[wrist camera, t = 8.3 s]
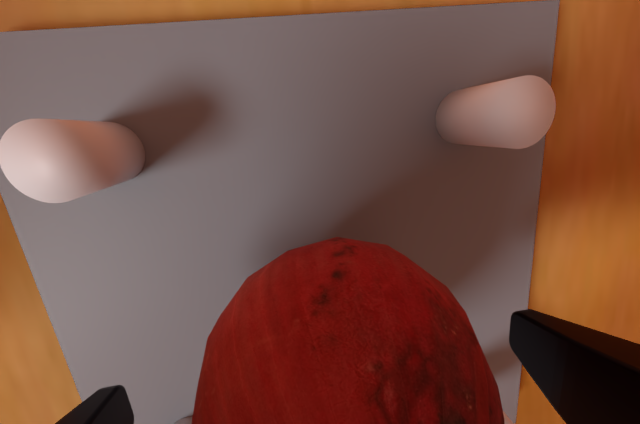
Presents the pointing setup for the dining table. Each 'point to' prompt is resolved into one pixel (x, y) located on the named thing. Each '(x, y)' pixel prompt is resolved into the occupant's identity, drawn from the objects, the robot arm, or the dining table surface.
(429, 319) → the onion
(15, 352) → the dining table surface
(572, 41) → the dining table surface
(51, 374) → the dining table surface
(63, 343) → the plate
